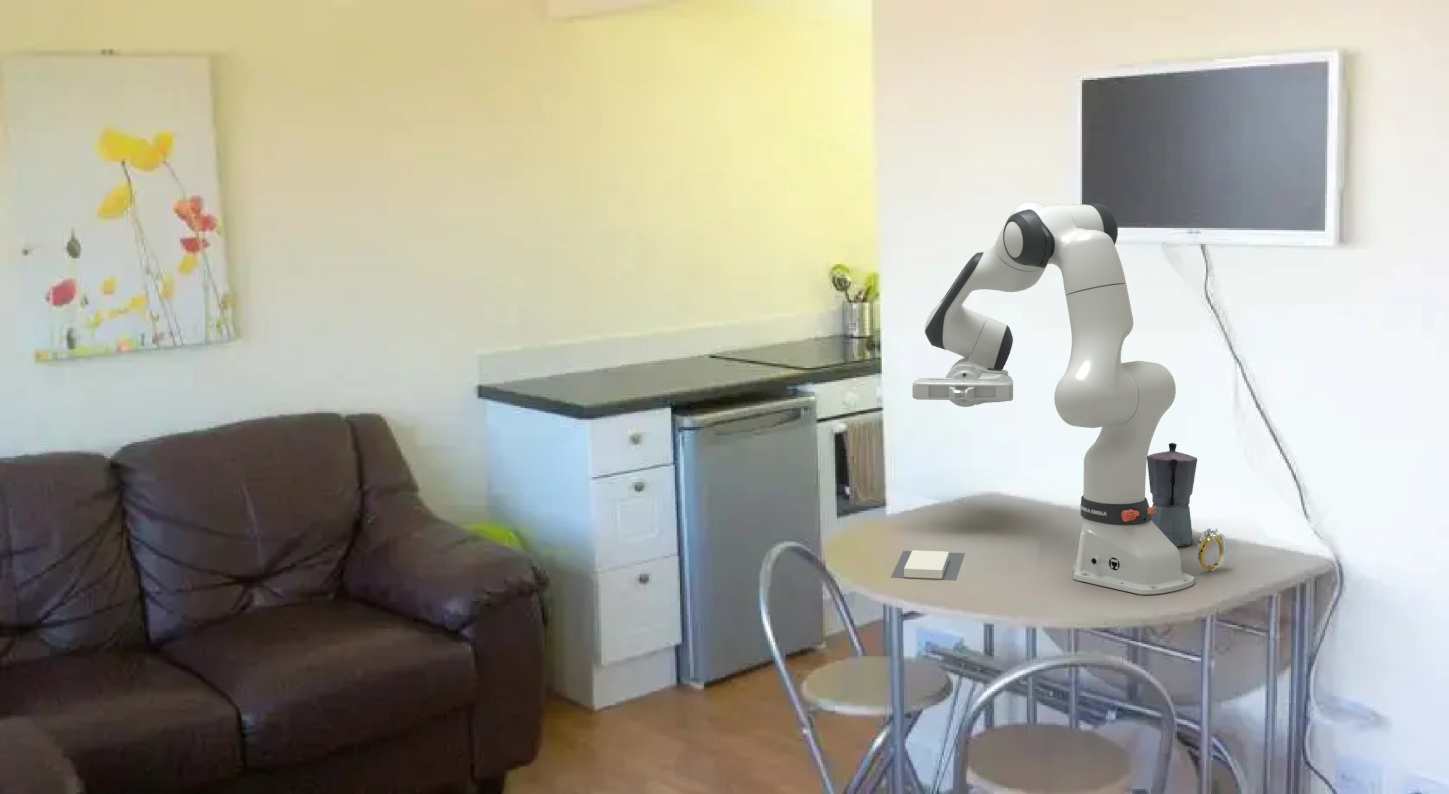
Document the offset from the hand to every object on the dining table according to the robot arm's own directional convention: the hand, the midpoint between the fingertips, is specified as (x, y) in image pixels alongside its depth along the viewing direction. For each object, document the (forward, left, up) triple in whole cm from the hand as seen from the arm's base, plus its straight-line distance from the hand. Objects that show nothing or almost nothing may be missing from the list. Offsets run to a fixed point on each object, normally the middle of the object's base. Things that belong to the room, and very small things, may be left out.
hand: (959, 395), depth 304 cm
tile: (-8, +14, -29) cm, 33 cm away
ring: (-43, -24, -30) cm, 58 cm away
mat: (-11, +17, -30) cm, 36 cm away
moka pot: (-25, -33, -30) cm, 51 cm away
